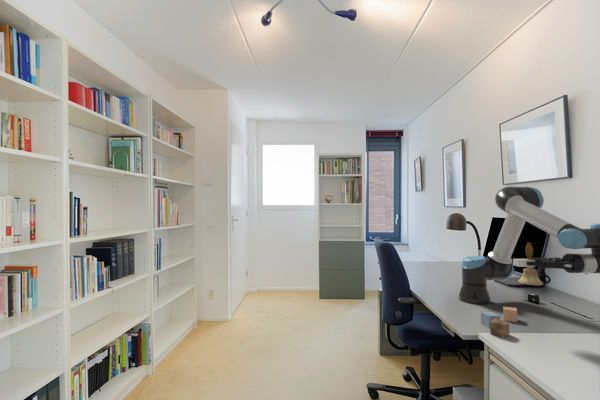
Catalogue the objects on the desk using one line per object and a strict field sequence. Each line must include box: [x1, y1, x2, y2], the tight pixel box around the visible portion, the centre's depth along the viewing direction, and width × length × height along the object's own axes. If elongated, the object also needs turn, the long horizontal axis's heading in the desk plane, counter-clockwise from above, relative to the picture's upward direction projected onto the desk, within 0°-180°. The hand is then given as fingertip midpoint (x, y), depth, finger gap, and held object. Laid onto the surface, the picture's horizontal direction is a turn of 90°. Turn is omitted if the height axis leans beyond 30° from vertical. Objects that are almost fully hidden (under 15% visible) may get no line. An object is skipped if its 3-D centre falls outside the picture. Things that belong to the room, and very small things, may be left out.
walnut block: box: [489, 319, 510, 339], centre depth 130 cm, size 5×5×5 cm
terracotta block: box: [502, 306, 518, 323], centre depth 147 cm, size 5×5×5 cm
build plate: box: [523, 293, 545, 306], centre depth 176 cm, size 12×7×5 cm, turn 13°
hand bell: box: [517, 242, 544, 286], centre depth 131 cm, size 8×8×16 cm
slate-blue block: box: [480, 311, 501, 329], centre depth 140 cm, size 5×5×5 cm
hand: (515, 262), depth 132 cm, fingers closed on hand bell, 2 cm apart
